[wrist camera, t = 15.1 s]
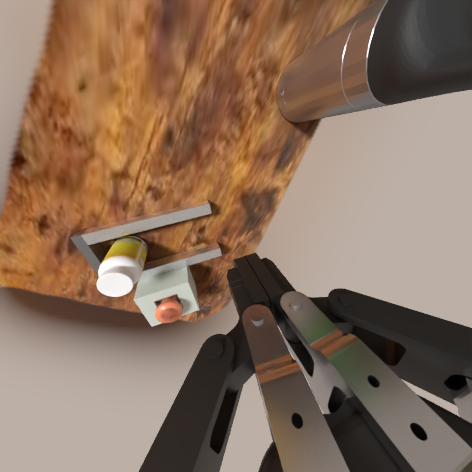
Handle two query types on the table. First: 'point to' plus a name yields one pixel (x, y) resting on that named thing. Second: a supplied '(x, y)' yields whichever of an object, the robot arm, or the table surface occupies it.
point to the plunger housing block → (167, 292)
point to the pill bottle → (122, 266)
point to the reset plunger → (169, 309)
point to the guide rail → (91, 236)
